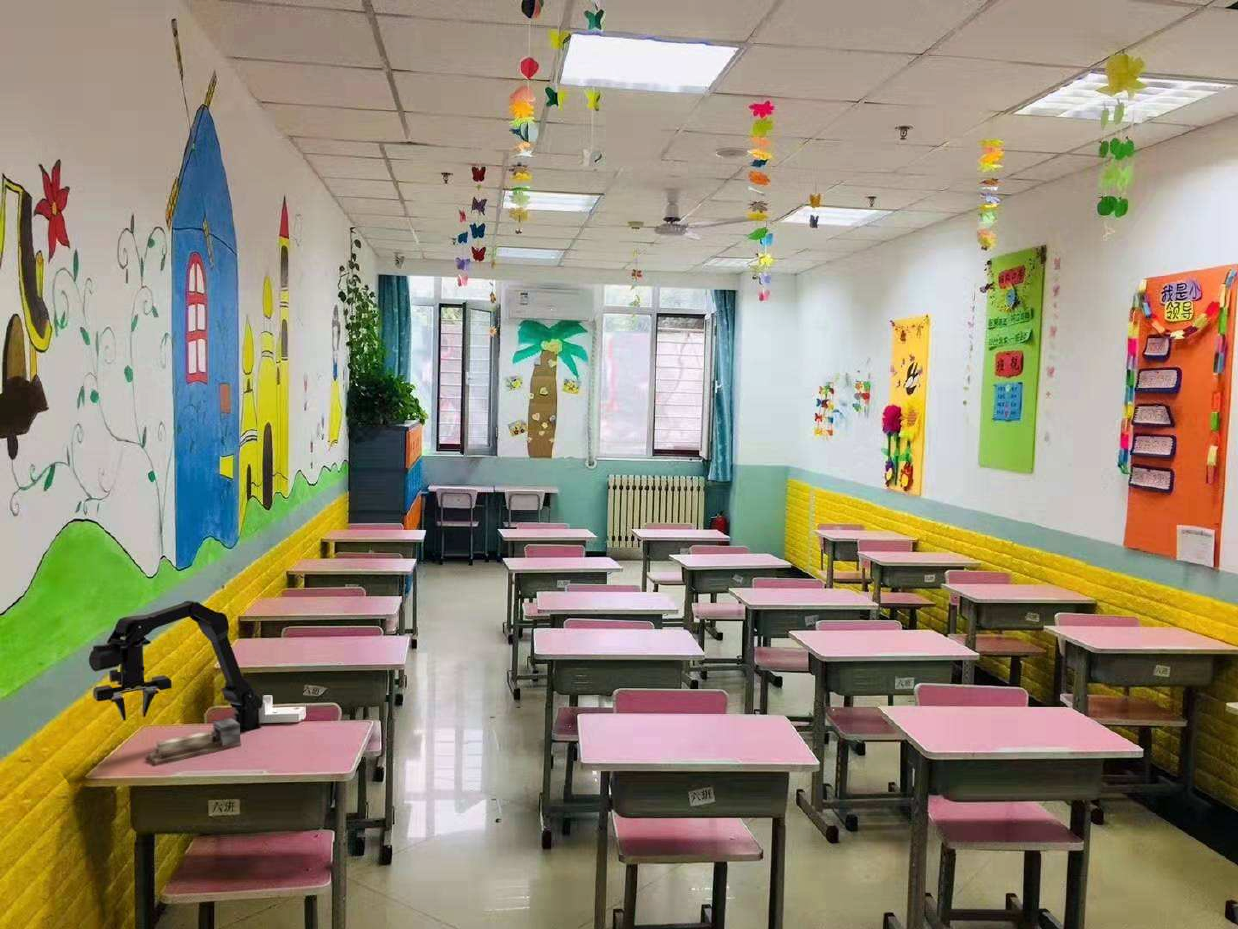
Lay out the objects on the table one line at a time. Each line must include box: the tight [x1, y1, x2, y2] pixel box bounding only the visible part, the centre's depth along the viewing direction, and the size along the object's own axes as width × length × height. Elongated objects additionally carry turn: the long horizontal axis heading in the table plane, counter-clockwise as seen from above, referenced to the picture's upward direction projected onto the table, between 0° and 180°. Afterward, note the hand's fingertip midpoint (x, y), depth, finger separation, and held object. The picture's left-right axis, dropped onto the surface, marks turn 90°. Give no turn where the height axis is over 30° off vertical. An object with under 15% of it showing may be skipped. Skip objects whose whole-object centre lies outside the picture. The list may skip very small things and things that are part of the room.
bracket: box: [259, 694, 307, 724], centre depth 296 cm, size 13×7×8 cm, turn 92°
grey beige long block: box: [156, 730, 213, 757], centre depth 267 cm, size 14×3×4 cm, turn 130°
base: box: [147, 717, 242, 766], centre depth 269 cm, size 23×9×6 cm, turn 130°
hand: (134, 718), depth 259 cm, fingers open, 5 cm apart
